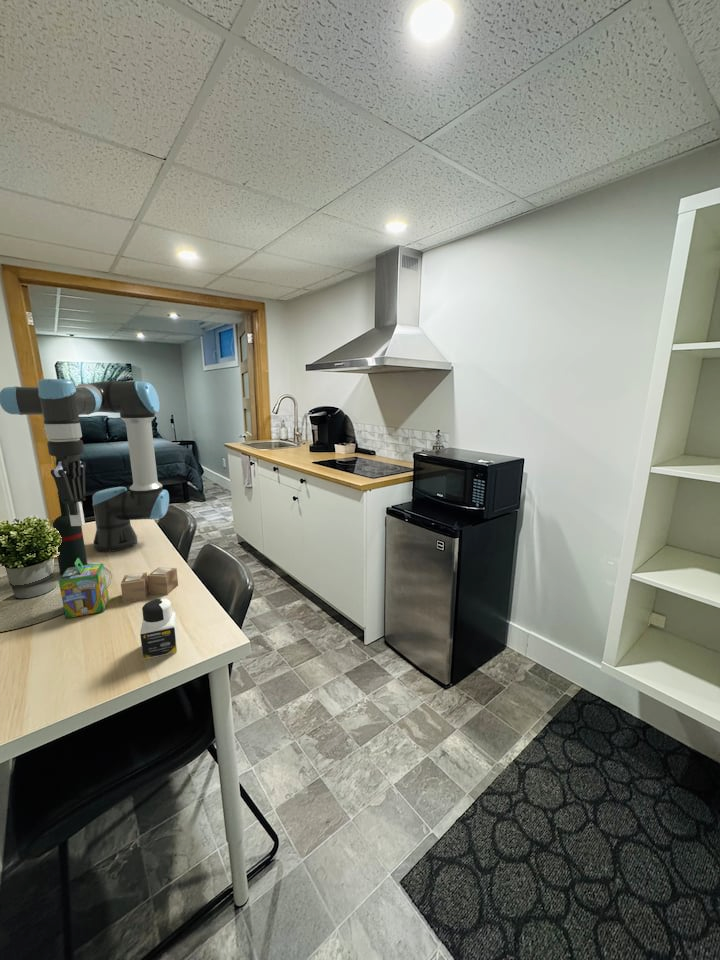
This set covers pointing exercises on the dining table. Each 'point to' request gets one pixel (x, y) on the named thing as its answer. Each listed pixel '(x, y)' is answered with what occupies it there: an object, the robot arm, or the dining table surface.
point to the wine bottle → (69, 540)
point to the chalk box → (83, 589)
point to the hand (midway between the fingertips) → (78, 524)
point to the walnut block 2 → (162, 580)
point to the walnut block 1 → (134, 587)
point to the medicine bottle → (158, 629)
